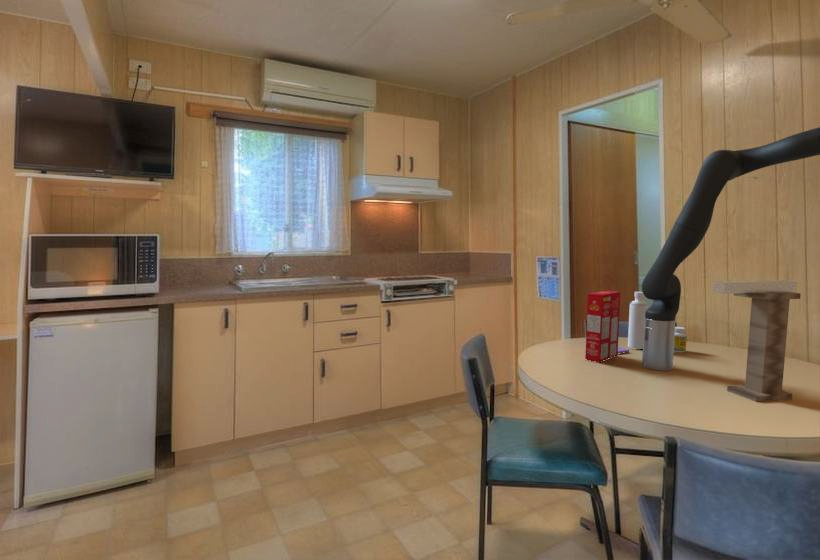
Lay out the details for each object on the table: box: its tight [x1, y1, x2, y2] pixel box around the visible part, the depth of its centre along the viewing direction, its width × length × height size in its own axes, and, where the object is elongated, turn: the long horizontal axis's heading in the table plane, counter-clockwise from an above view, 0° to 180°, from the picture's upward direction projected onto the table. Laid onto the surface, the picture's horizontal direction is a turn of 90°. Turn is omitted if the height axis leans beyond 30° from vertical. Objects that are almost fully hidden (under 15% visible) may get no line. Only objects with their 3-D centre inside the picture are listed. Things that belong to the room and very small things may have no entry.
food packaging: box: [584, 290, 622, 363], centre depth 165 cm, size 15×5×25 cm, turn 130°
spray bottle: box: [627, 291, 649, 349], centre depth 180 cm, size 7×7×25 cm
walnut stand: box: [726, 292, 801, 403], centre depth 125 cm, size 12×9×30 cm
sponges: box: [618, 346, 630, 353], centre depth 178 cm, size 7×13×2 cm, turn 22°
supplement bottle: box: [674, 326, 688, 353], centre depth 176 cm, size 5×5×10 cm
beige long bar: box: [712, 279, 798, 295], centre depth 123 cm, size 24×4×3 cm, turn 101°
